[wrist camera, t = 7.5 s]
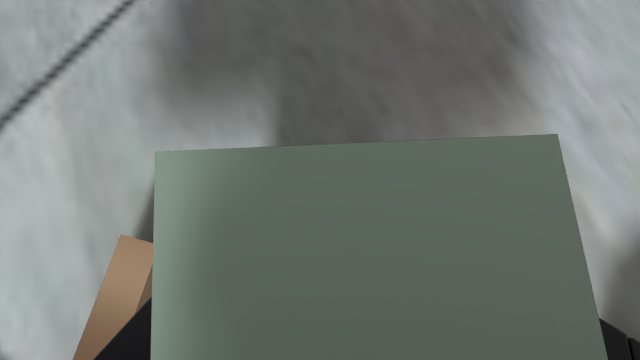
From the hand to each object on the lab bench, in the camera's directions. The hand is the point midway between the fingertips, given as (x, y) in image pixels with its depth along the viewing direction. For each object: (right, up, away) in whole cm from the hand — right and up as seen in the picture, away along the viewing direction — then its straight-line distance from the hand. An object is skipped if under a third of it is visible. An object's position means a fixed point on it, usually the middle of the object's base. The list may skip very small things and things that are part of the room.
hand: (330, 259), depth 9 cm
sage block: (0, -3, +6) cm, 7 cm away
